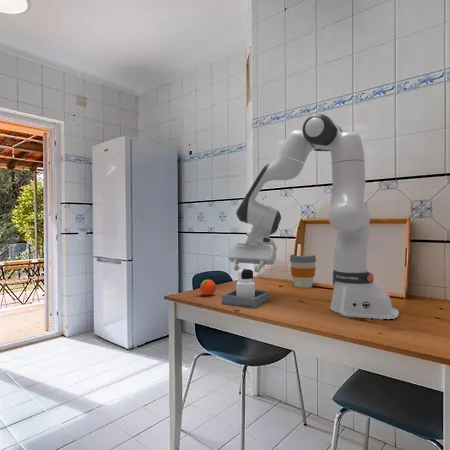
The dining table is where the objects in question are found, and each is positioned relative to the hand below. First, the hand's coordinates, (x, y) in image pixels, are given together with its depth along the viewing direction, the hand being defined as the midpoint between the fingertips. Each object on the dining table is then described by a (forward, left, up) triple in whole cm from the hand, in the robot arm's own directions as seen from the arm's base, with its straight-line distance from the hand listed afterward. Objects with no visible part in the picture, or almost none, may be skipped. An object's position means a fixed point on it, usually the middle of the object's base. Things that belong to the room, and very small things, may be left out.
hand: (245, 270), depth 130 cm
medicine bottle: (0, 0, -12) cm, 12 cm away
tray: (0, 0, -13) cm, 13 cm away
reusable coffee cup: (-10, -42, -13) cm, 45 cm away
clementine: (+20, -2, -13) cm, 24 cm away
